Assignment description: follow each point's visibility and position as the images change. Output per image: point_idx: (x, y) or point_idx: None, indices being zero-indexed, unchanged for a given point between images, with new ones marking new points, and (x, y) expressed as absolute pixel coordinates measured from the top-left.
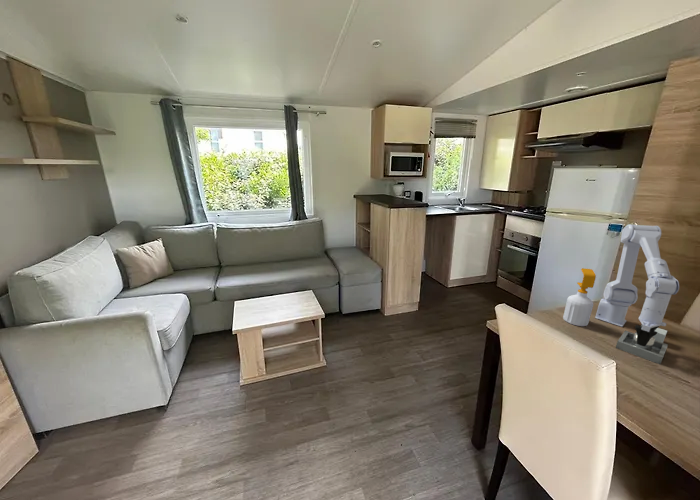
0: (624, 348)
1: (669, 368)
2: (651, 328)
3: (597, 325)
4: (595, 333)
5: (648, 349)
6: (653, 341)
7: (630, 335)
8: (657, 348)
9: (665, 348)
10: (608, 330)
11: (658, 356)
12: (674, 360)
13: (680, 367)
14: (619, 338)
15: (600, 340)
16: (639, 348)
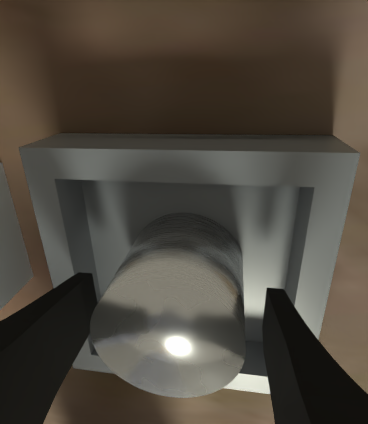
0: None
1: (352, 73)
2: (19, 369)
3: (81, 409)
4: (189, 414)
5: (223, 238)
6: (195, 275)
7: None
8: (99, 184)
9: (126, 155)
10: (88, 376)
11: (350, 180)
12: (157, 65)
13: (255, 8)
14: (246, 390)
15: (259, 399)
16: (318, 300)
